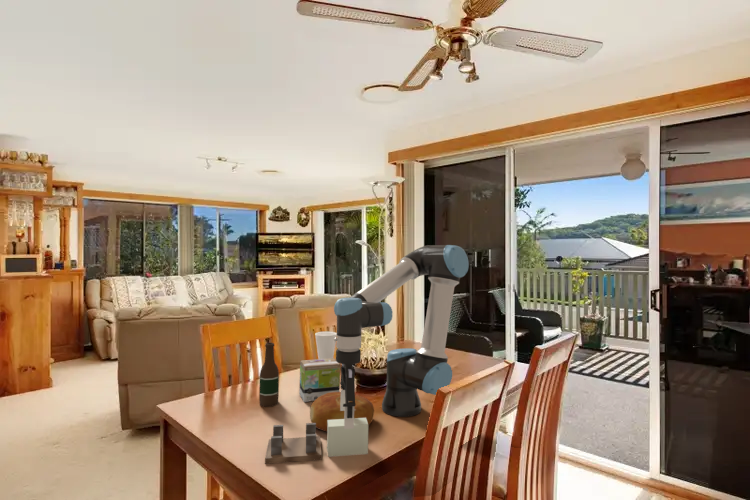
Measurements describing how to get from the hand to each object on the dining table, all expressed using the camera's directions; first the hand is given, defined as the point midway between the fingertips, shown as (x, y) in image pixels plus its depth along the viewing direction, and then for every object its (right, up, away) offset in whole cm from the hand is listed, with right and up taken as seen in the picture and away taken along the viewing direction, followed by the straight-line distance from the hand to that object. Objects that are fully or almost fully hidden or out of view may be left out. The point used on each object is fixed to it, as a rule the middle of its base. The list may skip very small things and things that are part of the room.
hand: (346, 418), depth 125 cm
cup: (-18, -10, +98) cm, 100 cm away
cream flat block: (0, -10, 0) cm, 10 cm away
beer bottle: (-34, -10, +38) cm, 52 cm away
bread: (-3, -10, +21) cm, 24 cm away
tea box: (-15, -10, +46) cm, 50 cm away
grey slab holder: (-16, -10, 0) cm, 19 cm away
